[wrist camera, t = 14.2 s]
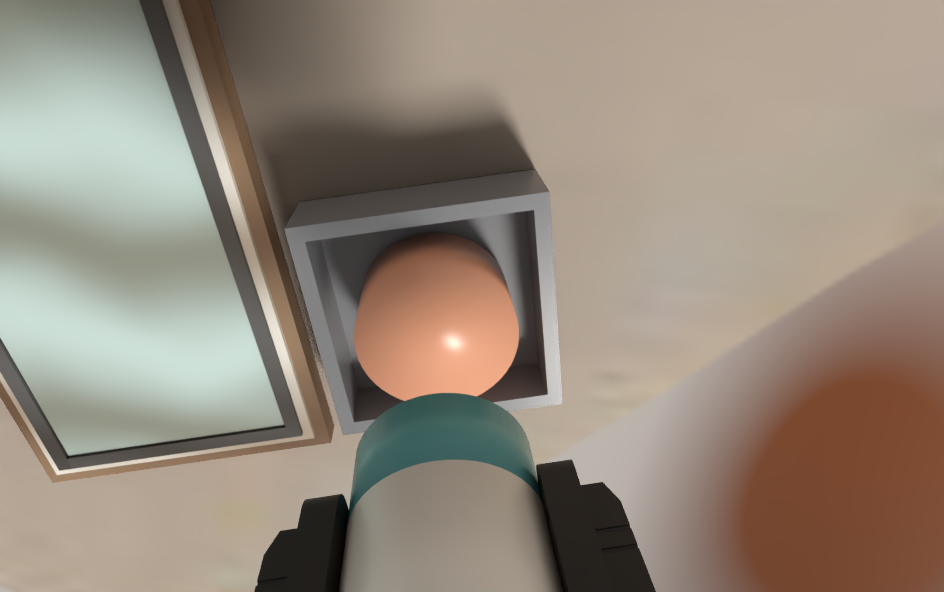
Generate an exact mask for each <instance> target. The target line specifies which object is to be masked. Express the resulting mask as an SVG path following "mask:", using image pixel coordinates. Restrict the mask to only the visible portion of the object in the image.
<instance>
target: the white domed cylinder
mask: <svg viewBox="0 0 944 592" xmlns="http://www.w3.org/2000/svg"><path fill="white" fill-rule="evenodd" d="M339 592H564V590H563V586H562V582H561V578H560V574H559V570H558V565H557V561H556V557H555V553H554V549H553V545H552V540H551V536H550V532H549V528H548V524H547V520H546V515H545V511H544V507H543V503H542V499H541V495H540V491H539V486H538V481H537V474H536V470H535V466H534V462H533V458H532V454H531V450H530V445H529V441H528V439H527V436H526V433H525V432H524V430H523V428H522V427H521V425H520V424H519V423H518V421H517V420H516V419H515V418H514V417H513V416H512V415H511V414H510V413H509V412H508V411H506V410H505V409H503V408H502V407H500V406H499V405H497V404H495V403H493V402H491V401H488V400H486V399H483V398H480V397H476V396H472V395H468V394H460V393H436V394H428V395H423V396H418V397H415V398H412V399H409V400H406V401H404V402H402V403H399V404H397V405H395V406H394V407H392V408H390V409H389V410H387V411H385V412H384V413H383V414H382V415H380V416H379V417H378V418H377V419H376V420H375V421H374V422H373V423H372V424H371V425H370V426H369V427H368V429H367V430H366V431H365V433H364V435H363V436H362V438H361V440H360V442H359V445H358V448H357V453H356V459H355V467H354V475H353V483H352V491H351V499H350V507H349V515H348V523H347V531H346V539H345V547H344V555H343V563H342V571H341V579H340V586H339Z"/></svg>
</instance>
